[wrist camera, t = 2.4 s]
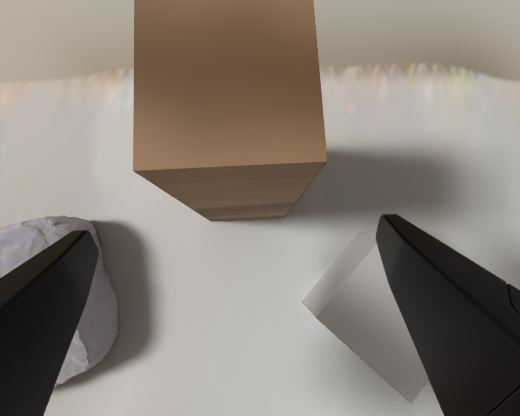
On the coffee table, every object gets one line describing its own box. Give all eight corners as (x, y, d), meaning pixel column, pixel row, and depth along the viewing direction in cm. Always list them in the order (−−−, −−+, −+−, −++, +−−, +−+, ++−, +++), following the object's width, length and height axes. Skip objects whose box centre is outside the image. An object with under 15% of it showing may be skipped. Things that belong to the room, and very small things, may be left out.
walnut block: (283, 217, 21) (327, 161, 8) (210, 221, 21) (133, 170, 8) (279, 147, 21) (312, -10, 9) (208, 150, 21) (134, -3, 8)
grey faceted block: (427, 293, 20) (482, 306, 15) (371, 365, 20) (410, 403, 15) (357, 233, 21) (389, 227, 16) (301, 301, 20) (315, 317, 15)
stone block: (141, 339, 21) (95, 204, 21) (110, 382, 17) (49, 208, 16) (-22, 389, 21) (-74, 254, 20) (-101, 448, 16) (-172, 274, 16)
